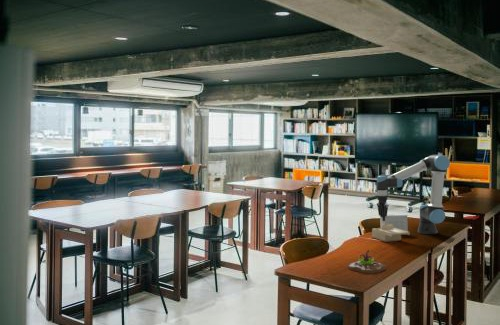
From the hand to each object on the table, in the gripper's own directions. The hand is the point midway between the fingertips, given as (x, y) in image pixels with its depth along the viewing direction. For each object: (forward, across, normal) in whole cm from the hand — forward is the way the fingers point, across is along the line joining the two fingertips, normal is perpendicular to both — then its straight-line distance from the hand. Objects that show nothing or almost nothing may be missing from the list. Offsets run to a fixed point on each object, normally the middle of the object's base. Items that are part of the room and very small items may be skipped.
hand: (383, 224), depth 361 cm
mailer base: (+10, +5, 0) cm, 11 cm away
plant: (+10, +72, -59) cm, 93 cm away
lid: (+4, +14, 0) cm, 15 cm away
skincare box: (+11, -8, +16) cm, 21 cm away
